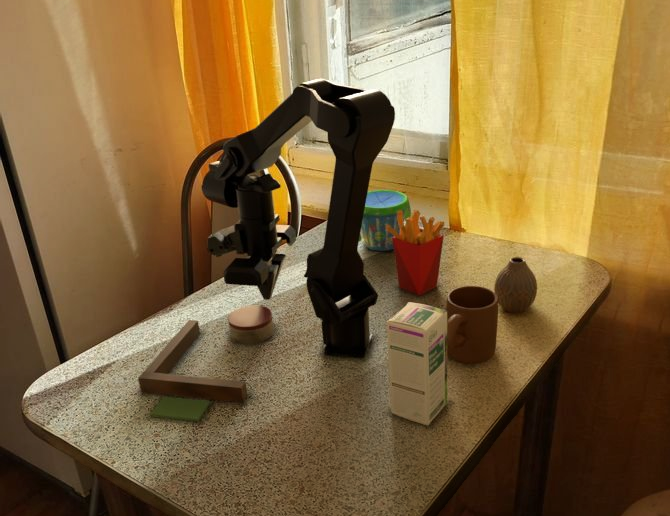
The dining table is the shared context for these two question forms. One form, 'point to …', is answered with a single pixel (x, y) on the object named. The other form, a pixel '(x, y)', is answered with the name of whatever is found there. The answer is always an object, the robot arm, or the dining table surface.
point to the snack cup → (383, 218)
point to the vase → (516, 286)
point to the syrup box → (418, 362)
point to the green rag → (180, 409)
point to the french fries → (417, 252)
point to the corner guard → (187, 386)
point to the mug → (471, 324)
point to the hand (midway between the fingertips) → (267, 298)
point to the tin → (251, 324)
